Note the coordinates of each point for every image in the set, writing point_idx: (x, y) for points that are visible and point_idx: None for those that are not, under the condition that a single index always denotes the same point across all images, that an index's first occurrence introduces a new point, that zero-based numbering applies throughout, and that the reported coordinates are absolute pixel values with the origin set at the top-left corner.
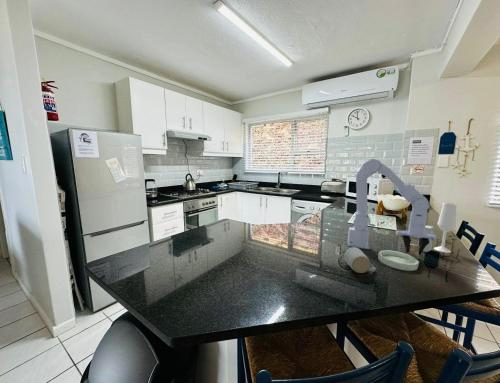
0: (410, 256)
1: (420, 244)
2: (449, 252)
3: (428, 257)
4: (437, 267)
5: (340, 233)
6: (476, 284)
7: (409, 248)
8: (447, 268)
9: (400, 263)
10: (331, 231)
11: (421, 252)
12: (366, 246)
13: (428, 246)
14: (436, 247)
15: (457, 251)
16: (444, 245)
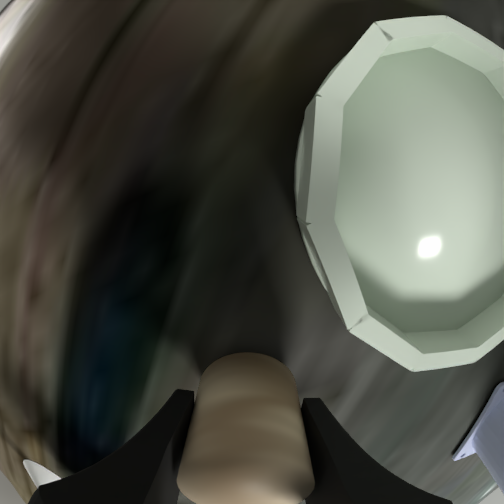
0: (350, 272)
1: (164, 501)
2: (26, 460)
3: (107, 415)
4: (90, 217)
5: (470, 492)
6: (13, 34)
7: (306, 440)
8: (30, 232)
9: (490, 41)
10: (488, 485)
11: (167, 404)
12: (499, 404)
13: None
14: None
15: (10, 463)
16: None
